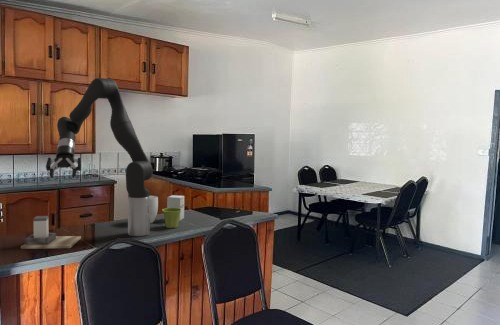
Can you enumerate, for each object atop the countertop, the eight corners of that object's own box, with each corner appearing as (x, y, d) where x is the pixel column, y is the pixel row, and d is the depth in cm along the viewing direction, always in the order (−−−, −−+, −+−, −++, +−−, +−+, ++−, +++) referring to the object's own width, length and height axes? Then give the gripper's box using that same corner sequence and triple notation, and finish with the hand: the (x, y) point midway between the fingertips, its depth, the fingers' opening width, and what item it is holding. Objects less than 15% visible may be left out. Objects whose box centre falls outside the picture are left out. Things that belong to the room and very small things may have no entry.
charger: (48, 239, 156) (48, 215, 155) (46, 242, 151) (46, 218, 151) (36, 240, 154) (36, 216, 153) (33, 243, 150) (33, 218, 149)
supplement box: (179, 221, 199) (180, 197, 198) (166, 220, 200) (166, 197, 199) (184, 218, 206) (184, 195, 205) (171, 217, 207) (171, 194, 206)
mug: (140, 227, 184) (141, 200, 183) (125, 224, 190) (125, 198, 189) (162, 221, 197) (162, 196, 196) (146, 218, 203) (146, 194, 202)
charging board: (80, 238, 162) (80, 230, 162) (69, 248, 149) (69, 239, 148) (36, 238, 160) (36, 230, 160) (20, 248, 146) (20, 239, 146)
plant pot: (175, 230, 181) (175, 212, 181) (158, 227, 184) (158, 210, 184) (184, 225, 190) (185, 208, 189) (168, 223, 193) (168, 207, 192)
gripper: (48, 144, 173) (43, 171, 163) (81, 144, 178) (79, 171, 168) (50, 155, 179) (46, 182, 169) (83, 155, 183) (80, 181, 173)
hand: (62, 176), depth 168 cm, fingers open, 8 cm apart
